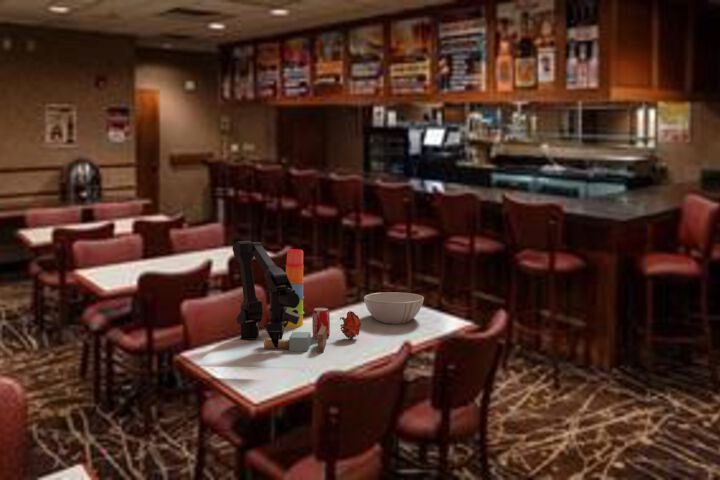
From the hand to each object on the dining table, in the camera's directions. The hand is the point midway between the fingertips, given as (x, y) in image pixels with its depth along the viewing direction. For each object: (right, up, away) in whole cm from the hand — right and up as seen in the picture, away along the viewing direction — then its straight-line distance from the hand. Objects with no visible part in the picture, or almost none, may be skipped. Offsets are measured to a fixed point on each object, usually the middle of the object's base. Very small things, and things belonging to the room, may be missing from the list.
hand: (278, 344), depth 262 cm
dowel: (0, -1, 0) cm, 2 cm away
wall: (+17, -1, 0) cm, 17 cm away
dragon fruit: (+28, 0, +14) cm, 32 cm away
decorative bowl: (+47, +2, +43) cm, 64 cm away
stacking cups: (+2, +1, +33) cm, 33 cm away
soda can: (+16, 0, +17) cm, 23 cm away
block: (+8, -1, 0) cm, 9 cm away
